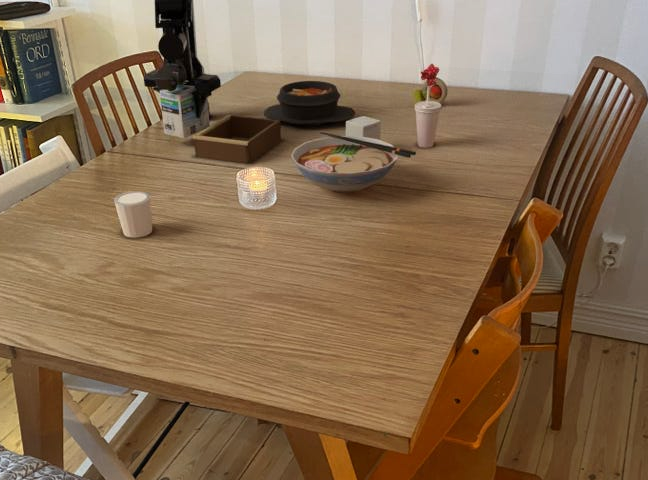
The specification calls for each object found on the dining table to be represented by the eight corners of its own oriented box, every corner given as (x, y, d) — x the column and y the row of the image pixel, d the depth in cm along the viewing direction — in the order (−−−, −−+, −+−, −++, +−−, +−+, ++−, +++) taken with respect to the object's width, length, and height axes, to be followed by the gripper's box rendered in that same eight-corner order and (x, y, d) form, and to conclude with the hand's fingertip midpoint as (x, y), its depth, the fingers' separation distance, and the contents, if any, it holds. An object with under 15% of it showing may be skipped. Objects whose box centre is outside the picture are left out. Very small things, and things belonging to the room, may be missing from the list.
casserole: (360, 111, 203) (361, 80, 199) (348, 133, 189) (348, 99, 184) (273, 107, 209) (272, 77, 204) (255, 128, 194) (252, 96, 189)
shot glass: (125, 242, 141) (119, 207, 137) (116, 228, 146) (109, 195, 142) (160, 233, 143) (154, 200, 139) (149, 221, 148) (143, 188, 144)
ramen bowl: (267, 188, 161) (265, 151, 156) (335, 159, 174) (335, 124, 169) (355, 218, 146) (356, 179, 142) (422, 184, 160) (425, 147, 155)
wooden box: (195, 156, 178) (193, 136, 175) (230, 134, 191) (228, 114, 188) (249, 163, 173) (247, 142, 170) (281, 140, 186) (280, 120, 183)
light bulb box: (184, 139, 181) (179, 95, 174) (163, 134, 184) (158, 90, 177) (211, 126, 188) (207, 83, 181) (190, 122, 191) (186, 79, 184)
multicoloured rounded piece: (440, 110, 209) (413, 94, 210) (459, 74, 202) (430, 58, 202) (434, 116, 204) (406, 100, 205) (453, 80, 197) (424, 63, 198)
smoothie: (409, 147, 179) (412, 88, 170) (416, 139, 183) (419, 81, 175) (435, 150, 176) (439, 90, 168) (441, 142, 181) (446, 83, 173)
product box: (362, 157, 174) (363, 126, 170) (344, 151, 178) (344, 120, 174) (380, 150, 177) (381, 120, 173) (362, 144, 181) (363, 115, 177)
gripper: (125, 55, 172) (136, 122, 181) (194, 61, 165) (202, 130, 174) (152, 44, 180) (161, 109, 189) (218, 50, 174) (224, 116, 183)
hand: (186, 116), depth 184 cm, fingers closed on light bulb box, 7 cm apart
